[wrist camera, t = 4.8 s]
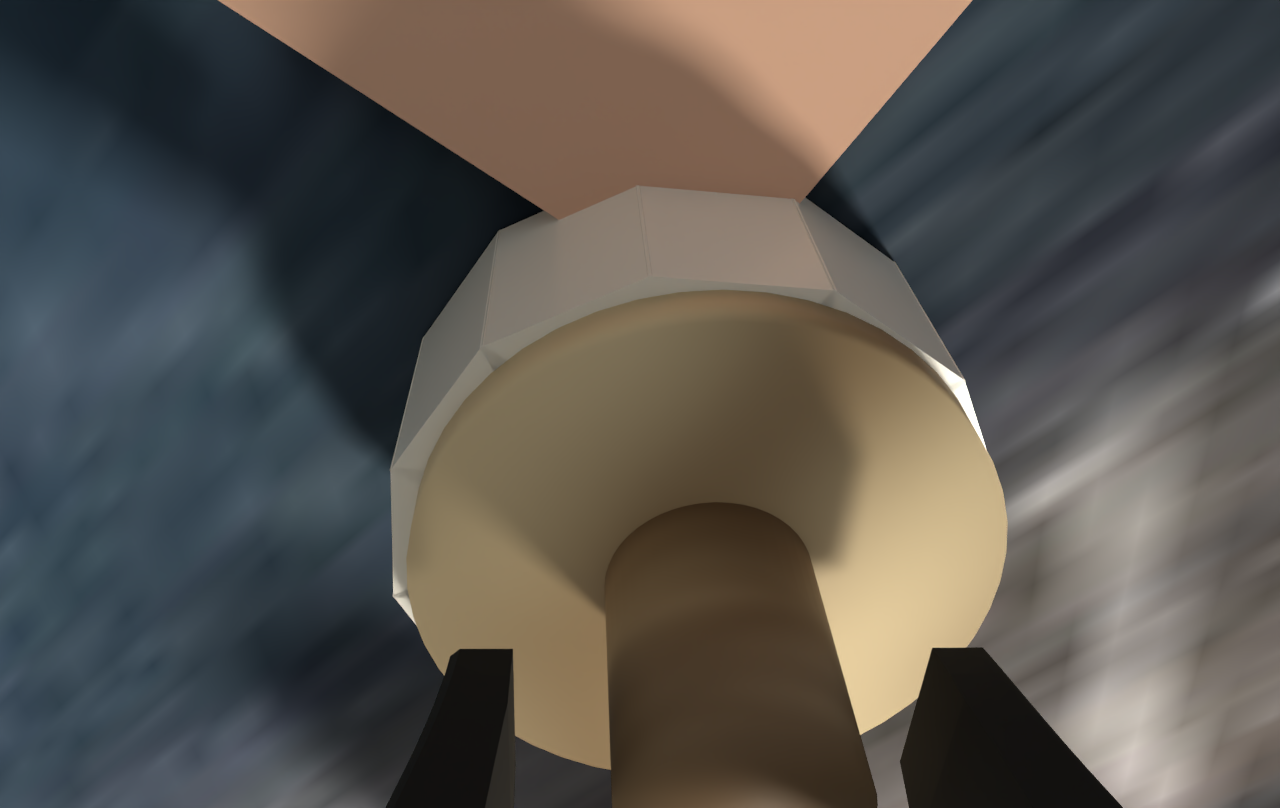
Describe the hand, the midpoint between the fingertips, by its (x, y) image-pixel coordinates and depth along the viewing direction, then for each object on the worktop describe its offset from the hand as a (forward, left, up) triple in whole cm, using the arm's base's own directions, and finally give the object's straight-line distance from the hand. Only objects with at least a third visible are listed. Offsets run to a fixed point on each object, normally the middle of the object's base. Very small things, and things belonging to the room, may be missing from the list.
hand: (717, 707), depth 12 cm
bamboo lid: (0, 0, -3) cm, 3 cm away
